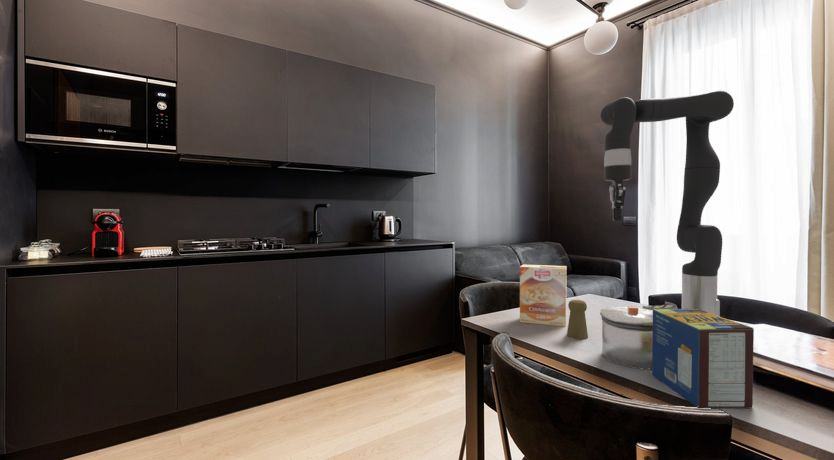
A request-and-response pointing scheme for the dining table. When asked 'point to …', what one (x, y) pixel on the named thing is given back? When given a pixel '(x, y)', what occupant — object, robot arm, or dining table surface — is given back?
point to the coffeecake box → (543, 294)
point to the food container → (662, 306)
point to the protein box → (703, 357)
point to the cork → (577, 320)
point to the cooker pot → (627, 344)
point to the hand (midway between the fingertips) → (616, 220)
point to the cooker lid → (628, 315)
